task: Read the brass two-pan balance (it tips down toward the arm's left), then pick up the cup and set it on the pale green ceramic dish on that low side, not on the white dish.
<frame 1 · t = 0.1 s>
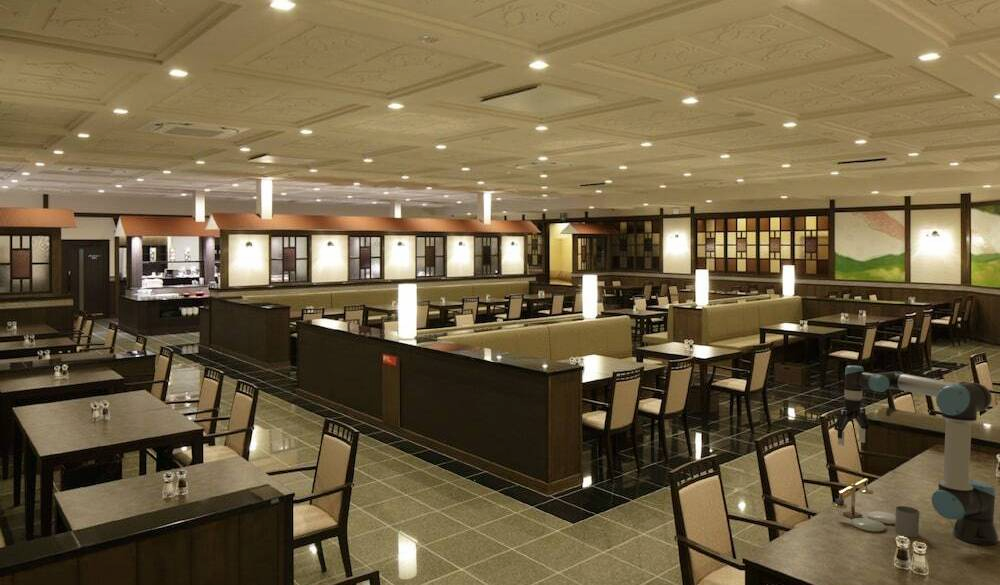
hand: (851, 443, 319), 28 cm above the table, fingers open, 13 cm apart
cup: (906, 533, 285), on the table
dish green: (867, 526, 291), on the table
dish white: (884, 519, 299), on the table
balance: (852, 516, 303), on the table
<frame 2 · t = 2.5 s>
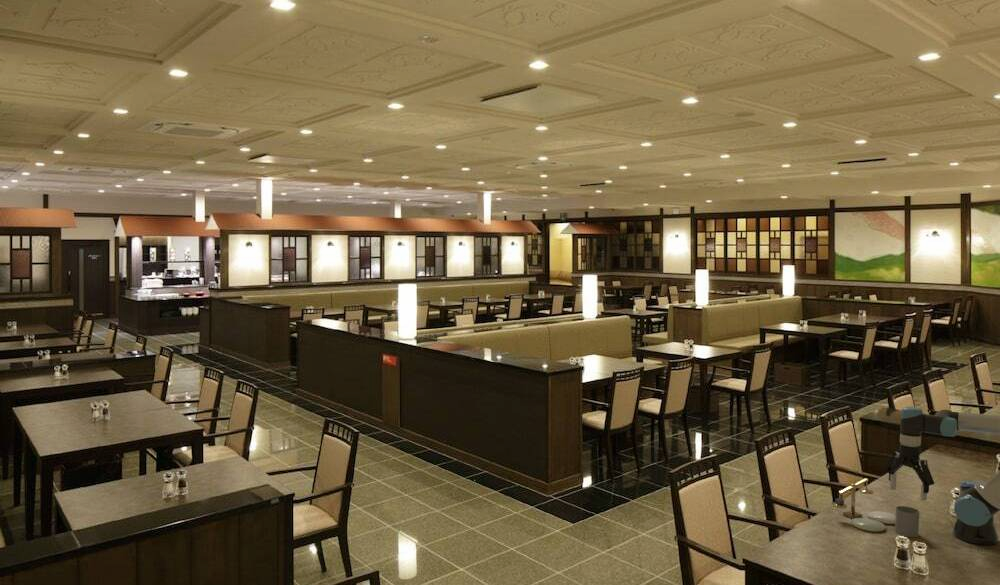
hand: (907, 494, 284), 16 cm above the table, fingers open, 13 cm apart
nothing on the table moved.
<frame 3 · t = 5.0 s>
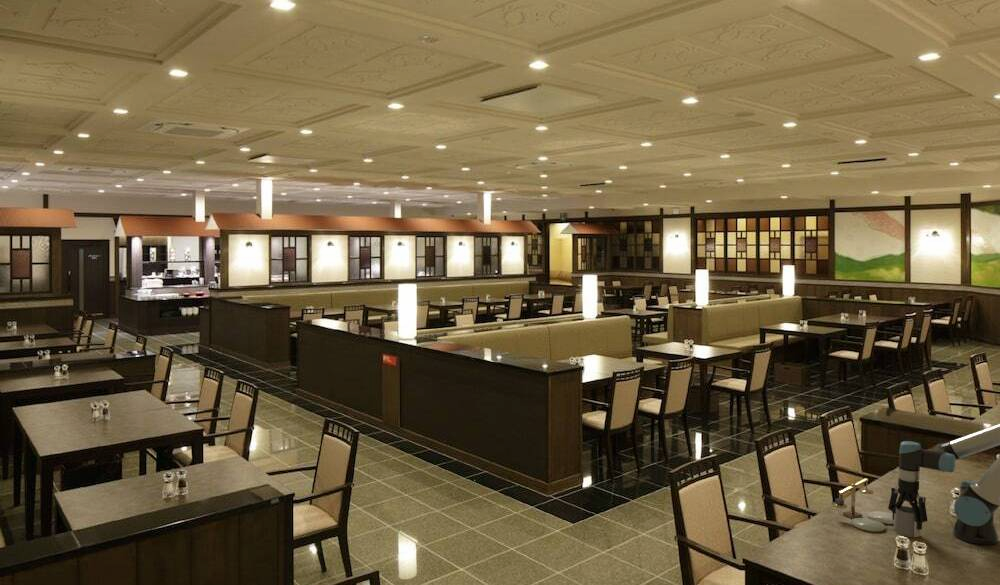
hand: (906, 532, 285), 0 cm above the table, fingers closed on cup, 8 cm apart
cup: (906, 533, 285), on the table, touching gripper
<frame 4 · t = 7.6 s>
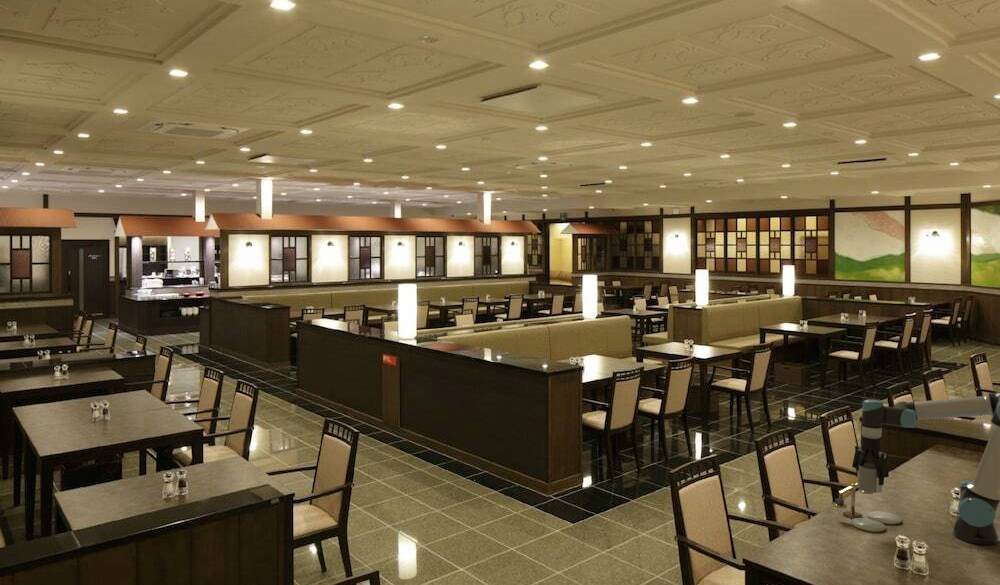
hand: (869, 488, 290), 16 cm above the table, fingers closed on cup, 8 cm apart
cup: (869, 489, 290), point 16 cm above the table, touching gripper
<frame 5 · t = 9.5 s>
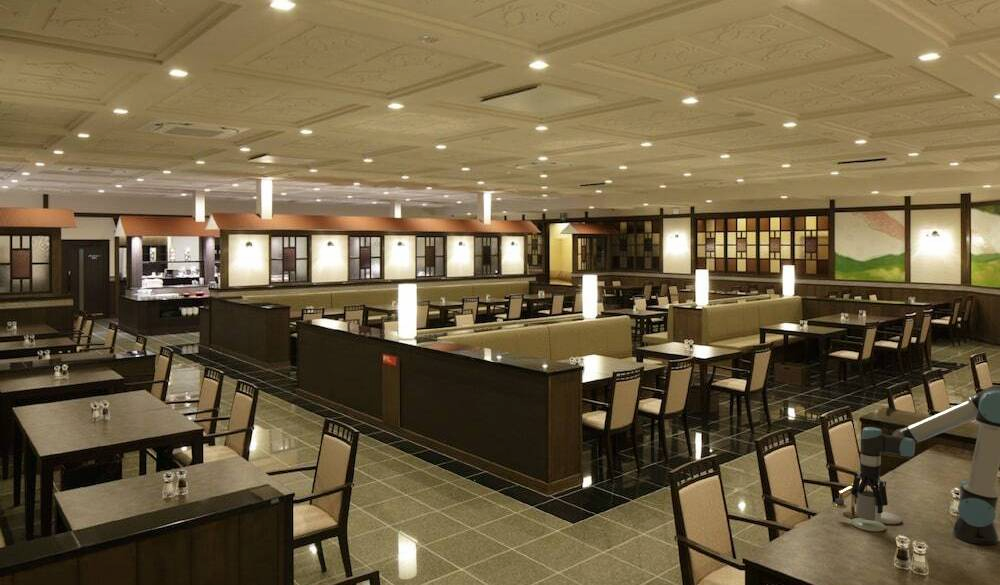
hand: (868, 516, 291), 5 cm above the table, fingers closed on cup, 8 cm apart
cup: (868, 517, 291), point 4 cm above the table, touching gripper
when the fingers open (3 cm above the table, at t = 10.7 s): cup drops 2 cm, resting on dish green.
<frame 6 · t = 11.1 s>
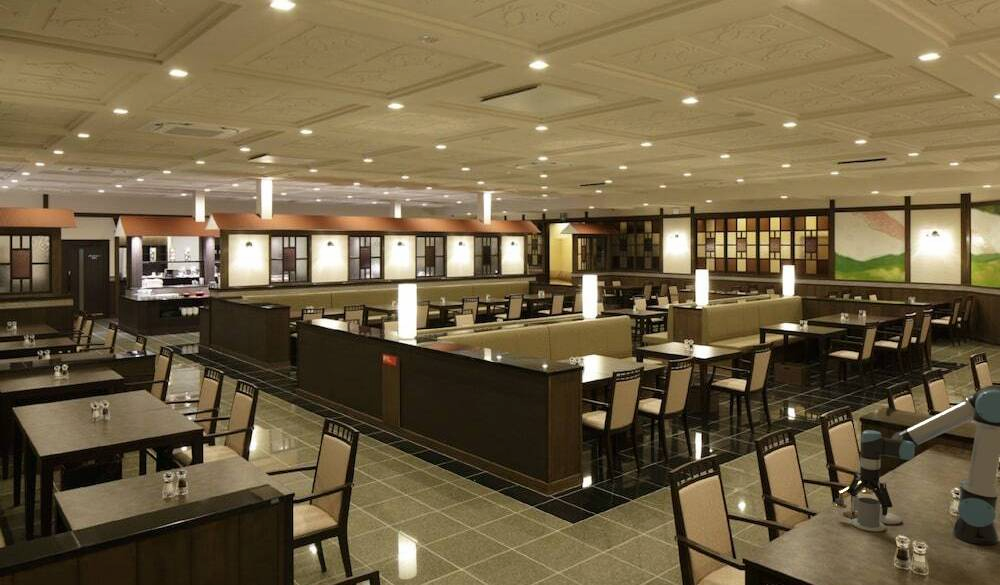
hand: (868, 516, 291), 4 cm above the table, fingers open, 13 cm apart
cup: (868, 524, 291), point 1 cm above the table, touching dish green
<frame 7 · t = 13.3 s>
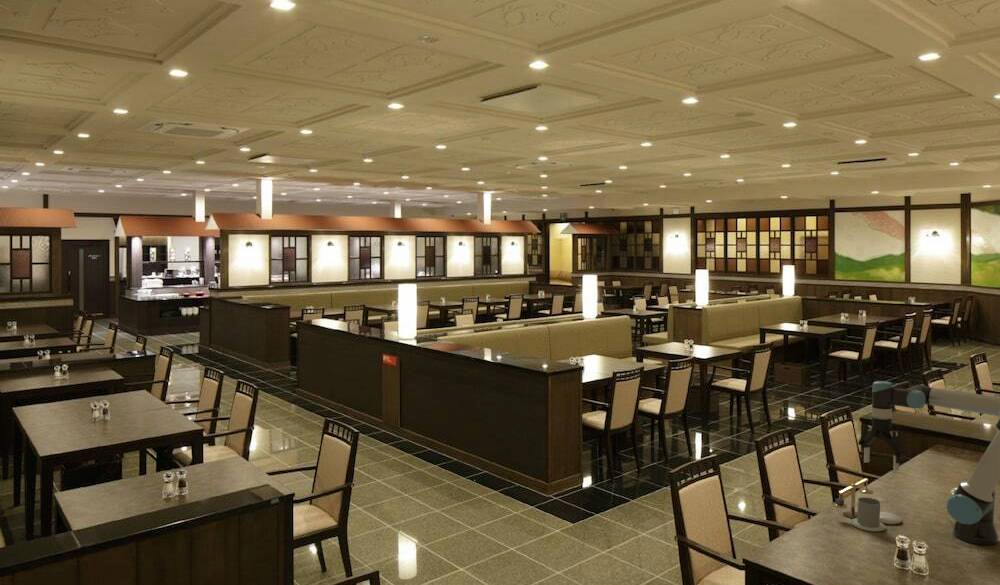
hand: (881, 466, 294), 25 cm above the table, fingers open, 13 cm apart
nothing on the table moved.
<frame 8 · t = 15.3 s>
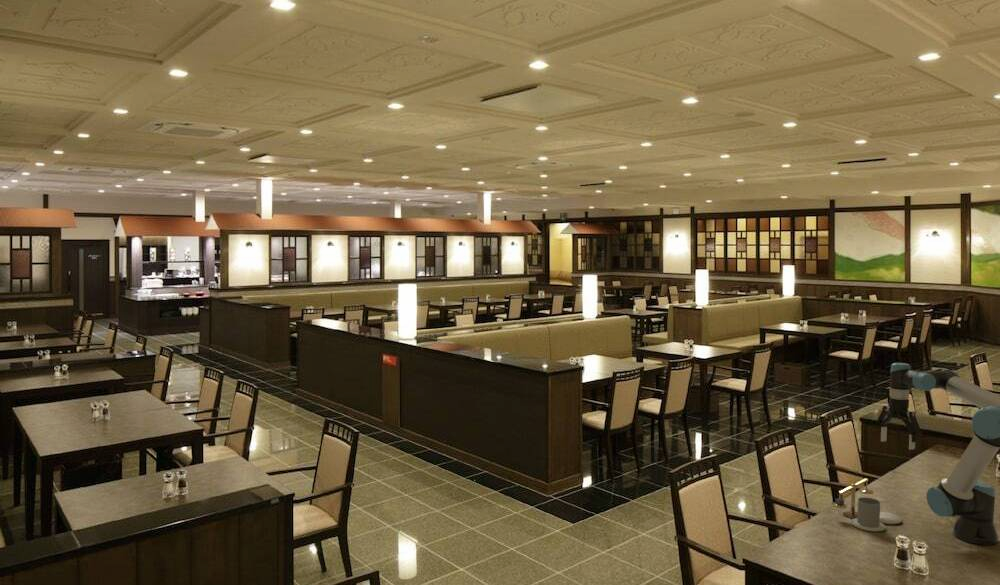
hand: (897, 445, 303), 32 cm above the table, fingers open, 13 cm apart
nothing on the table moved.
at the end: cup 0.0 cm from the dish green (horizontally); cup touching dish green; cup tilted 0° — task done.
